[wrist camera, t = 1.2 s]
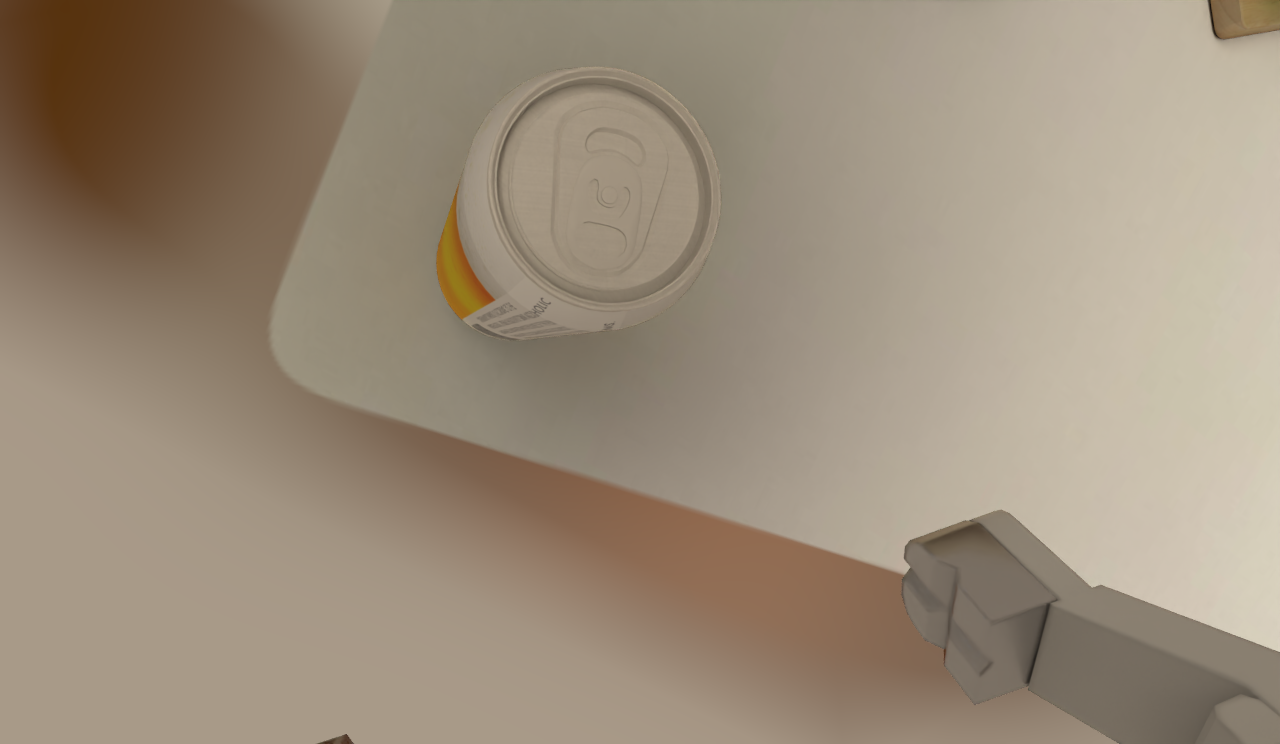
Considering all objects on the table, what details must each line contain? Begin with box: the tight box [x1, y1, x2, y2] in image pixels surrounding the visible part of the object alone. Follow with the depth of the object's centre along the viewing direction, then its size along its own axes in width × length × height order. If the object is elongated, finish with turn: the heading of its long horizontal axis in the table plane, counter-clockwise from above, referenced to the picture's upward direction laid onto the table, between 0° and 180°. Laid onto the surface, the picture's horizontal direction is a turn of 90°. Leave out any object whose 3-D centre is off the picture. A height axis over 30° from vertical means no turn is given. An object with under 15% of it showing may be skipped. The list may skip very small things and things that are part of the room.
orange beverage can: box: [436, 67, 721, 341], centre depth 22 cm, size 6×6×15 cm
